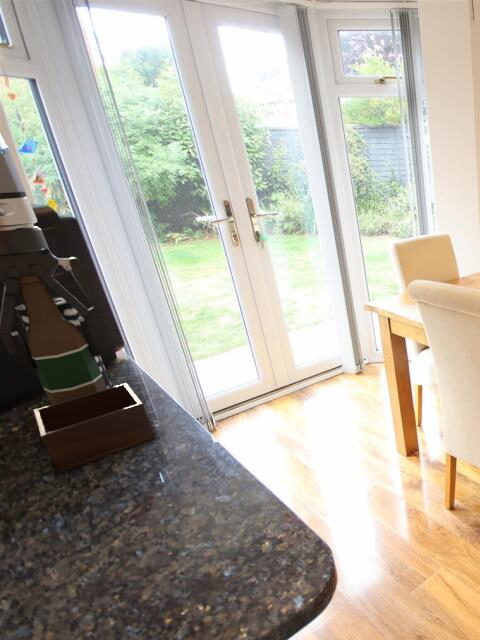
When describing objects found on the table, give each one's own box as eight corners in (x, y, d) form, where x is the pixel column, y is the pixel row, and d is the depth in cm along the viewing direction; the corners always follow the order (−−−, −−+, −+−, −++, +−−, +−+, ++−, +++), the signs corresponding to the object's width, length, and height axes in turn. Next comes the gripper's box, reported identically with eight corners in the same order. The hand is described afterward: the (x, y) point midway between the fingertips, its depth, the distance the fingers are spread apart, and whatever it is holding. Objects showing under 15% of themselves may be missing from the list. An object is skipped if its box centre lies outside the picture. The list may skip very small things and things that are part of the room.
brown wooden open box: (49, 444, 77) (33, 409, 74) (138, 414, 85) (126, 382, 83) (59, 473, 69) (40, 436, 67) (155, 437, 78) (142, 403, 75)
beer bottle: (52, 420, 78) (-13, 283, 69) (56, 404, 84) (-4, 274, 75) (111, 405, 82) (56, 273, 74) (111, 390, 88) (60, 266, 79)
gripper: (-101, 239, 62) (-21, 389, 71) (95, 221, 76) (141, 348, 85) (-96, 235, 67) (-22, 376, 75) (87, 218, 81) (132, 339, 89)
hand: (64, 361), depth 80 cm, fingers closed on beer bottle, 8 cm apart
